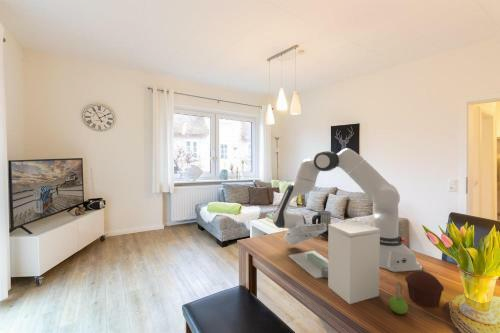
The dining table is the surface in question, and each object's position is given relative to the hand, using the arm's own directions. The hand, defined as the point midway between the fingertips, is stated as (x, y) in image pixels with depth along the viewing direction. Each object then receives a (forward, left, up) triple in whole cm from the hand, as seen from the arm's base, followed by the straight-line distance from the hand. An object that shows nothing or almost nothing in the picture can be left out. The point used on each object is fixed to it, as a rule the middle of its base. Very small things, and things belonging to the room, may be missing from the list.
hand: (315, 226), depth 115 cm
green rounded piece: (-21, +34, -19) cm, 45 cm away
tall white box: (-10, +22, -19) cm, 31 cm away
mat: (0, -1, -19) cm, 19 cm away
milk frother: (-14, -42, -19) cm, 48 cm away
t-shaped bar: (-2, +4, -18) cm, 19 cm away
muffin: (-34, +26, -19) cm, 47 cm away
